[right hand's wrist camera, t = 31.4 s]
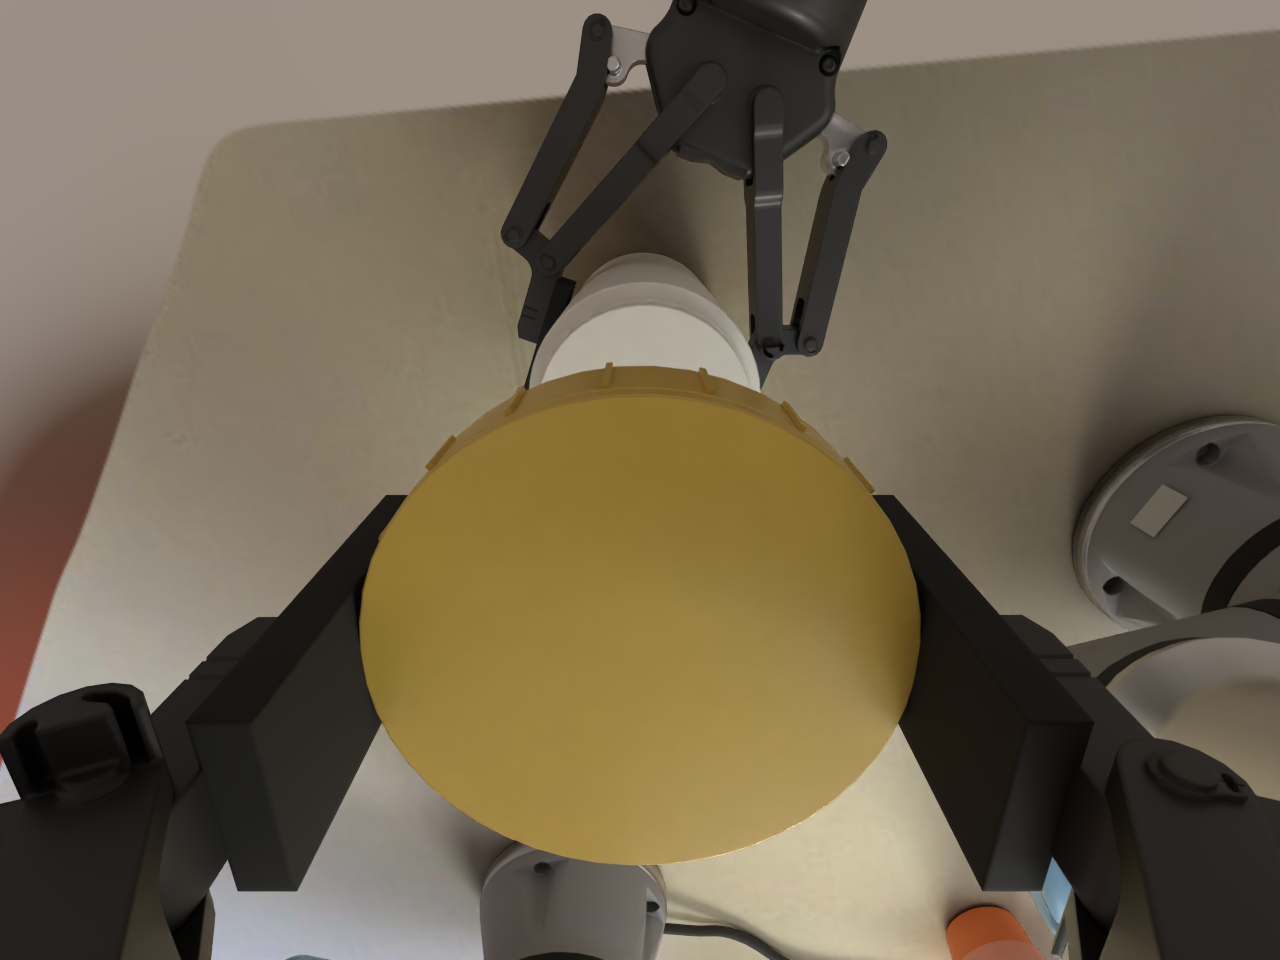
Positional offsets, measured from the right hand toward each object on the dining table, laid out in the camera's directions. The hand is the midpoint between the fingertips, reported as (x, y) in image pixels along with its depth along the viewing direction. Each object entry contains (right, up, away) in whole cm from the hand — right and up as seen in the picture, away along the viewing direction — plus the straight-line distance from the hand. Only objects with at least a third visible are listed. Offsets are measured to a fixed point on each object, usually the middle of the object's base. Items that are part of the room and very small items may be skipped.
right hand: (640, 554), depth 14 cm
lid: (0, -1, -3) cm, 3 cm away
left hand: (-1, +4, +21) cm, 21 cm away
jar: (0, +10, +25) cm, 27 cm away
